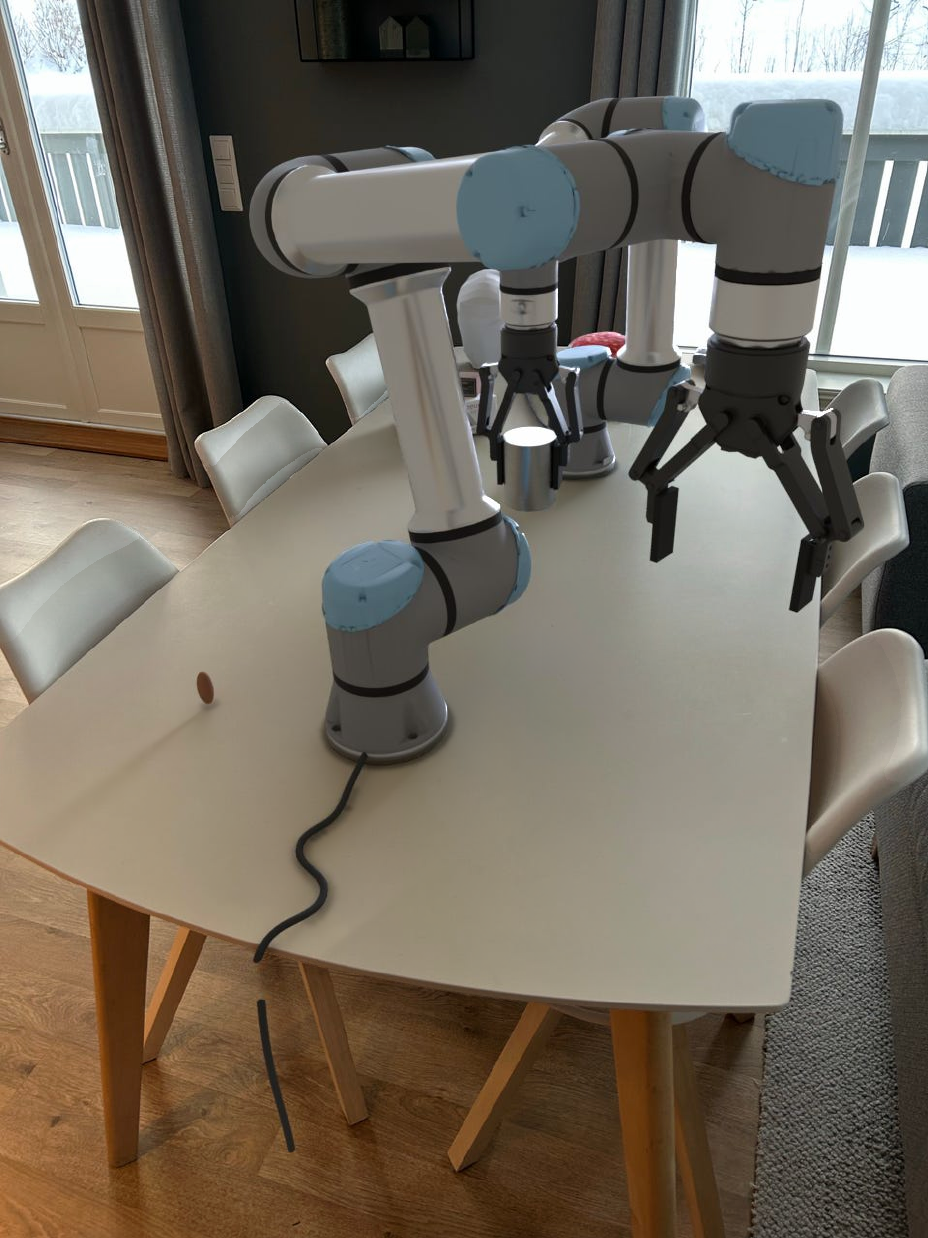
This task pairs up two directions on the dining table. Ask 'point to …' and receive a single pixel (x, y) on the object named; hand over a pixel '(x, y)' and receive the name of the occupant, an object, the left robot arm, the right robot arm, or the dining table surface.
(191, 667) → the dining table surface
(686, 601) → the dining table surface
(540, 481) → the canister
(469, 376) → the white boxy piece
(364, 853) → the dining table surface
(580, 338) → the cake
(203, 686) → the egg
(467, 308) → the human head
